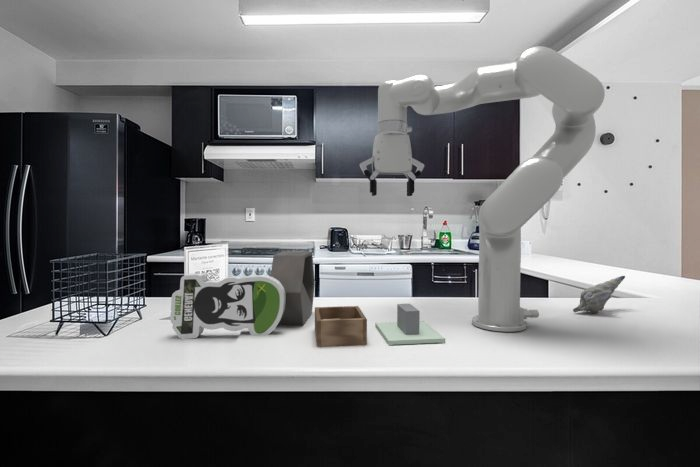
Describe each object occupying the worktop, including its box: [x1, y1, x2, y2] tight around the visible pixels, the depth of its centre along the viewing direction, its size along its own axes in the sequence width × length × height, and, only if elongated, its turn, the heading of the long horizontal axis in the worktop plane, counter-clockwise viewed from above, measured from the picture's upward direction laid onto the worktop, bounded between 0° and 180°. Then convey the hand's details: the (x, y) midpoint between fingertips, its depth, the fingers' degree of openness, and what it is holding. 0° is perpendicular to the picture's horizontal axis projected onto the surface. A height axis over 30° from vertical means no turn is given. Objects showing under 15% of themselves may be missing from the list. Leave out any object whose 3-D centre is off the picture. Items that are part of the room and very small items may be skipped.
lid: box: [374, 303, 446, 347], centre depth 85 cm, size 12×14×7 cm
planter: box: [269, 251, 316, 326], centre depth 99 cm, size 17×8×21 cm
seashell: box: [572, 275, 626, 314], centre depth 107 cm, size 10×17×10 cm, turn 91°
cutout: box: [169, 272, 286, 340], centre depth 86 cm, size 15×3×25 cm
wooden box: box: [314, 305, 368, 348], centre depth 83 cm, size 10×12×6 cm
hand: (392, 195), depth 103 cm, fingers open, 9 cm apart
